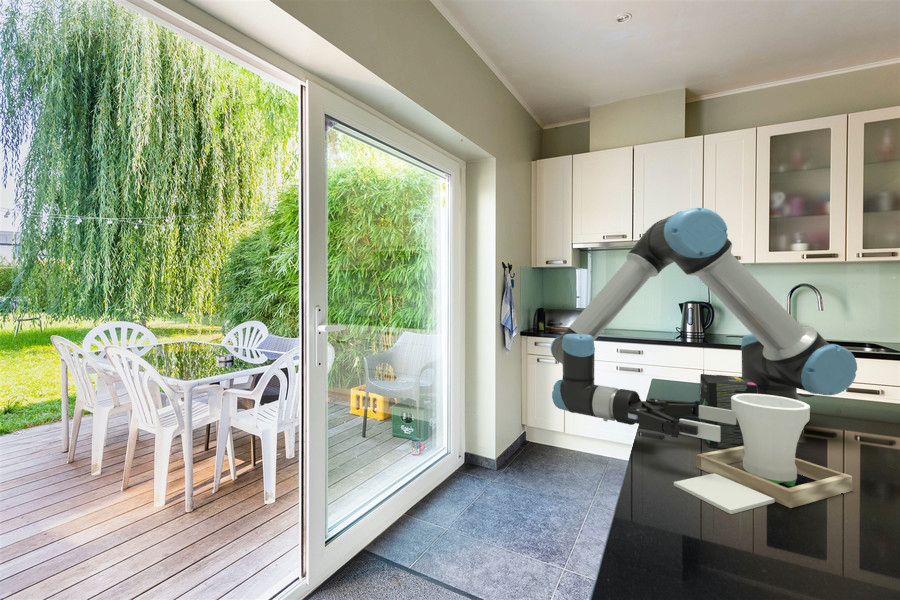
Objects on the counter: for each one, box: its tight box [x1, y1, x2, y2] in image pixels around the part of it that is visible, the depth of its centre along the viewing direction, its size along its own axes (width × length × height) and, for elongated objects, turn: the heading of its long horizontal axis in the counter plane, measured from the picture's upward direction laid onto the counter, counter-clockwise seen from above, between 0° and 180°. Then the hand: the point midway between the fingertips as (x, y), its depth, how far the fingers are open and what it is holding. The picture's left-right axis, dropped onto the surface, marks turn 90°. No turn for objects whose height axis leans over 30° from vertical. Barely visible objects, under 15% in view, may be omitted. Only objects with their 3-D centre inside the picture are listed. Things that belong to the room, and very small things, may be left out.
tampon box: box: [699, 373, 758, 450], centre depth 90 cm, size 11×9×15 cm
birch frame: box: [695, 446, 853, 509], centre depth 72 cm, size 16×16×2 cm
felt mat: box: [673, 473, 775, 515], centre depth 67 cm, size 10×10×1 cm
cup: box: [731, 394, 811, 487], centre depth 72 cm, size 11×11×14 cm
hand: (728, 425), depth 76 cm, fingers open, 13 cm apart
